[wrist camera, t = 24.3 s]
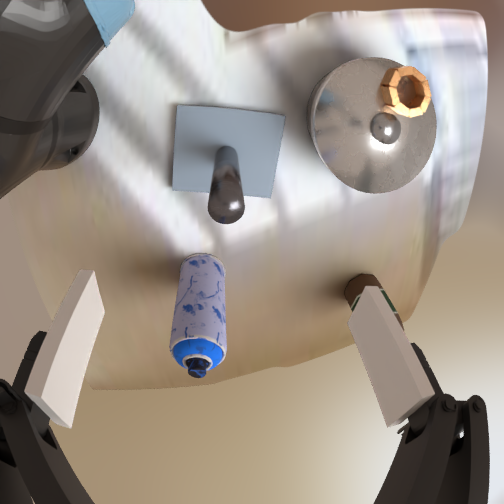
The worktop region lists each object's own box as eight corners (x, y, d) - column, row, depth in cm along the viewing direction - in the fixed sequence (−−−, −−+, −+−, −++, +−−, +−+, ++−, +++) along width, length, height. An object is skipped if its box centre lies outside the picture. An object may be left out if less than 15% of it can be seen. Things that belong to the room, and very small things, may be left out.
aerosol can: (170, 265, 46) (151, 365, 30) (210, 245, 45) (205, 348, 28) (196, 295, 51) (190, 392, 34) (233, 278, 49) (241, 378, 33)
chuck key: (231, 170, 37) (234, 229, 24) (211, 161, 36) (201, 215, 23) (241, 151, 36) (251, 200, 22) (221, 142, 35) (217, 184, 22)
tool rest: (173, 187, 39) (172, 190, 38) (178, 104, 32) (177, 105, 31) (269, 195, 41) (270, 198, 40) (283, 115, 34) (285, 116, 33)
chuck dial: (391, 206, 38) (405, 219, 34) (286, 155, 32) (293, 164, 29) (444, 106, 29) (462, 112, 25) (346, 32, 24) (360, 27, 20)
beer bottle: (379, 268, 51) (438, 366, 31) (375, 296, 56) (423, 389, 36) (343, 277, 51) (394, 385, 32) (342, 305, 56) (383, 405, 36)
